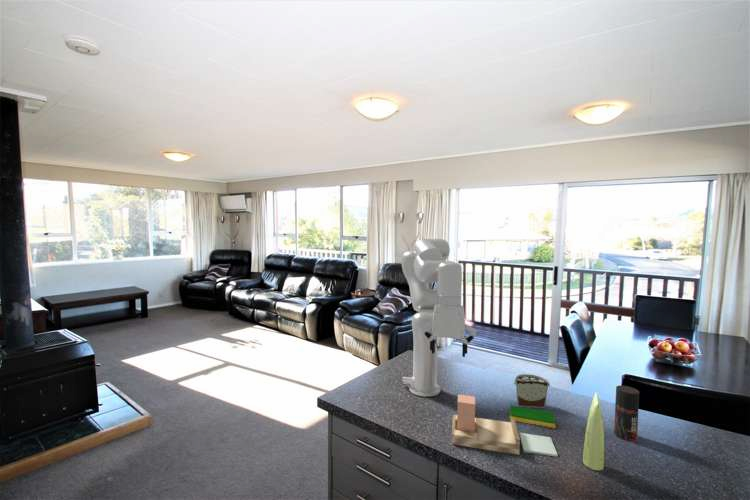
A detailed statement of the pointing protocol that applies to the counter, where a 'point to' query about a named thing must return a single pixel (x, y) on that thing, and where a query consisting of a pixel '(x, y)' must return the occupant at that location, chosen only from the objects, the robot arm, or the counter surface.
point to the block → (466, 413)
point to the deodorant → (626, 413)
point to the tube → (594, 438)
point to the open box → (489, 435)
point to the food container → (531, 390)
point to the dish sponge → (532, 416)
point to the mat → (538, 444)
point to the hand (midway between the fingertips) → (448, 354)
